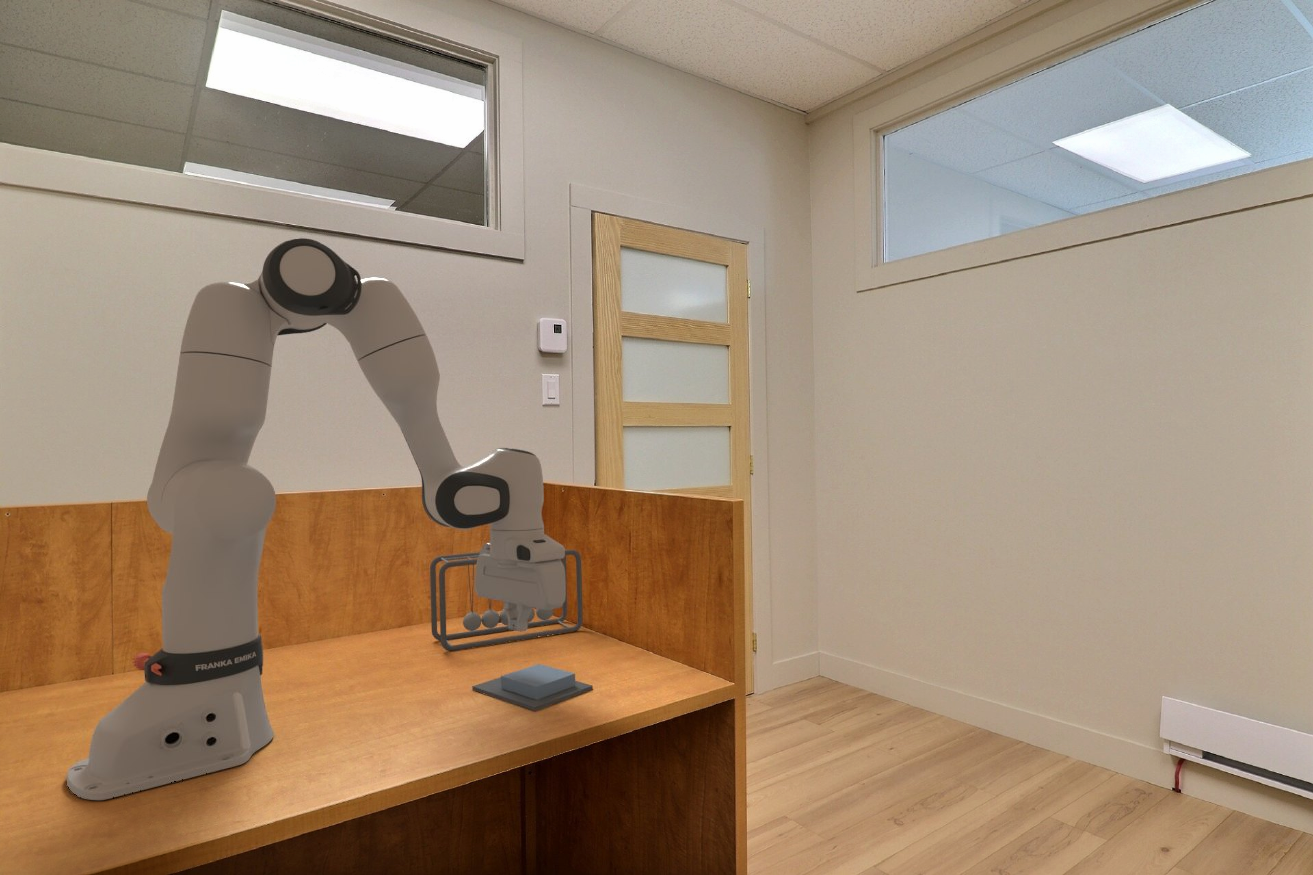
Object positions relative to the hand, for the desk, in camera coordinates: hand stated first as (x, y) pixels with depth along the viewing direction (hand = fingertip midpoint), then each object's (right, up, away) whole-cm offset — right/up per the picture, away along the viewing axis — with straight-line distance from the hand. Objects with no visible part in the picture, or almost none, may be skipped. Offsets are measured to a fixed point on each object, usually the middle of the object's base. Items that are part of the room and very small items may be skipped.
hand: (517, 630), depth 118 cm
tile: (0, -8, +1) cm, 8 cm away
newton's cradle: (-8, -11, +33) cm, 36 cm away
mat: (+3, -9, -1) cm, 10 cm away
